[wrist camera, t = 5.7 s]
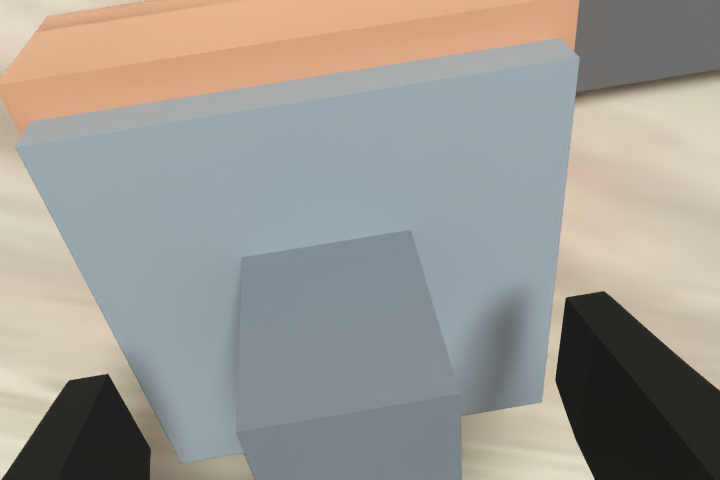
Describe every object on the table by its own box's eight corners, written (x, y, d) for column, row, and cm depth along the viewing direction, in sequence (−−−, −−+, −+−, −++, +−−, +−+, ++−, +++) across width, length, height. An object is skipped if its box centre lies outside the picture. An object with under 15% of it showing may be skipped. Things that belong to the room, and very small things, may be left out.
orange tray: (519, -56, 12) (579, -7, 10) (504, 286, 18) (541, 369, 15) (47, 16, 12) (-5, 85, 10) (184, 339, 18) (172, 432, 15)
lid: (530, 375, 16) (606, 557, 12) (184, 434, 15) (161, 635, 12) (560, 37, 10) (709, 191, 7) (30, 121, 10) (-90, 322, 7)
